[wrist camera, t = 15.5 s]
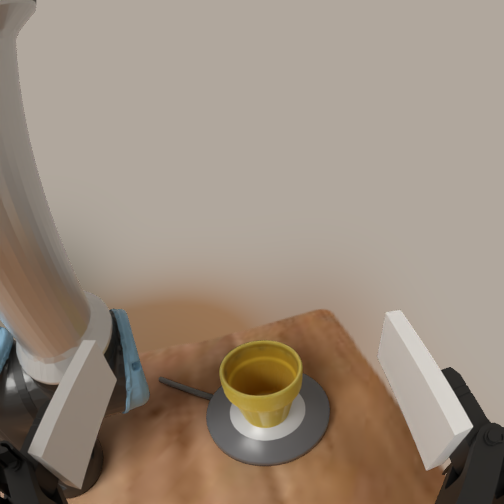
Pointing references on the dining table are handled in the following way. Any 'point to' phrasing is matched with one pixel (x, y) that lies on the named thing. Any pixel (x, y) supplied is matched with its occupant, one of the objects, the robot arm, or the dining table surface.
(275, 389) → the plant pot
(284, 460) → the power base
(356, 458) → the dining table surface
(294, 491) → the dining table surface
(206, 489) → the dining table surface
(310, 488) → the dining table surface
